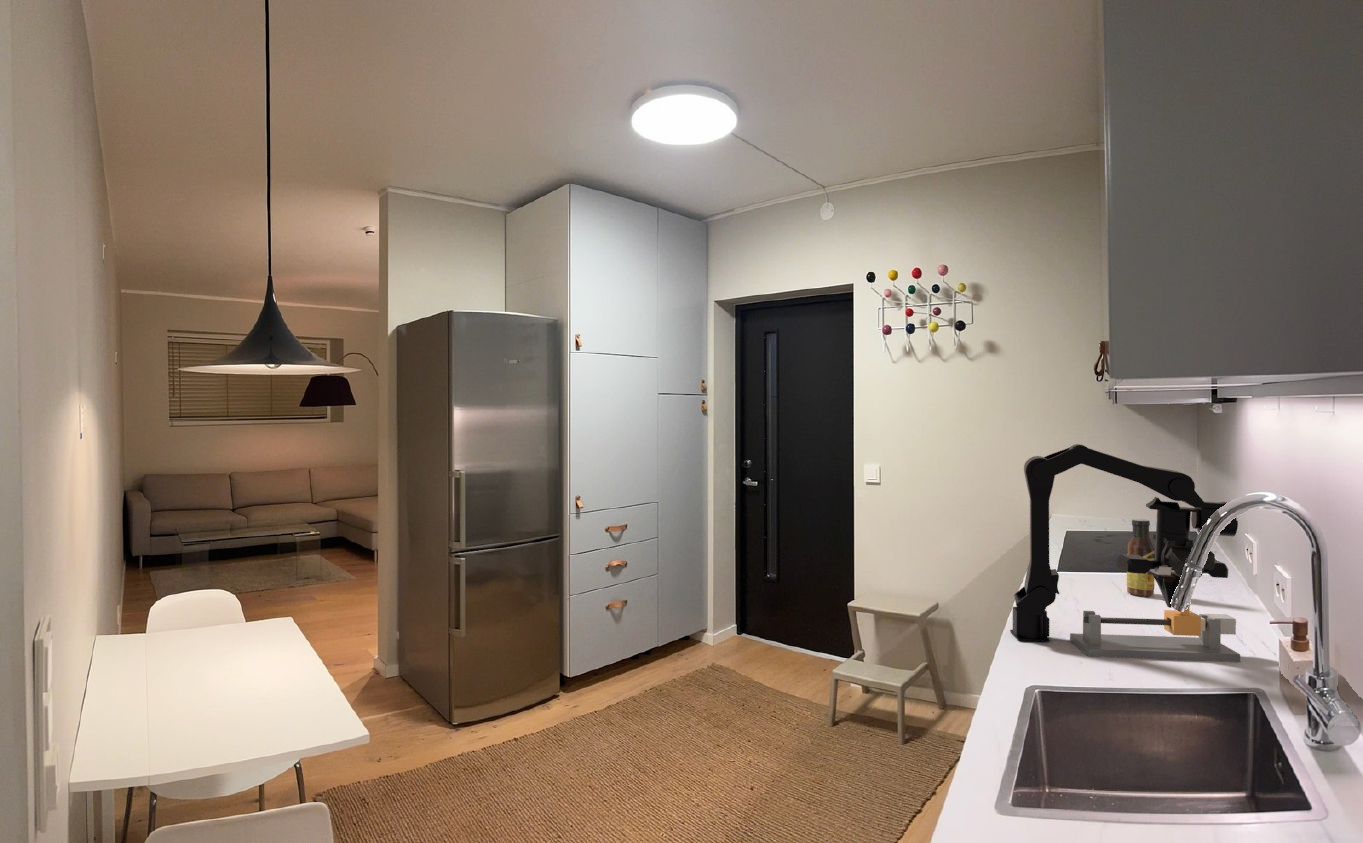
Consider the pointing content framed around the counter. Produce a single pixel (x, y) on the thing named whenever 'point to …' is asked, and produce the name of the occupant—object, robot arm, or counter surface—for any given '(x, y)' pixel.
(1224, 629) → the stand
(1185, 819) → the counter surface
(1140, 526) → the sauce bottle
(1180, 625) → the orange slider block
